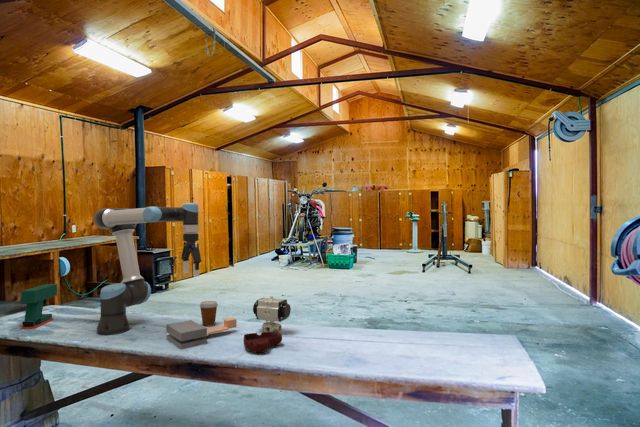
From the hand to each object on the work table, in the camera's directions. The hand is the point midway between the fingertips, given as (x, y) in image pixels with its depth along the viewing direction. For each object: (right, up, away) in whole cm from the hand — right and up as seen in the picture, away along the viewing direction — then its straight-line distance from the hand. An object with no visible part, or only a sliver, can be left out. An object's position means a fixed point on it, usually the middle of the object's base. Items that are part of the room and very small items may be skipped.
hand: (191, 275), depth 202 cm
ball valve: (+41, -29, -3) cm, 50 cm away
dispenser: (+3, -29, -16) cm, 33 cm away
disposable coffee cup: (+6, -29, +12) cm, 32 cm away
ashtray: (+38, -29, -25) cm, 54 cm away
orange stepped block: (+15, -26, -6) cm, 31 cm away
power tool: (-90, -30, +22) cm, 98 cm away
